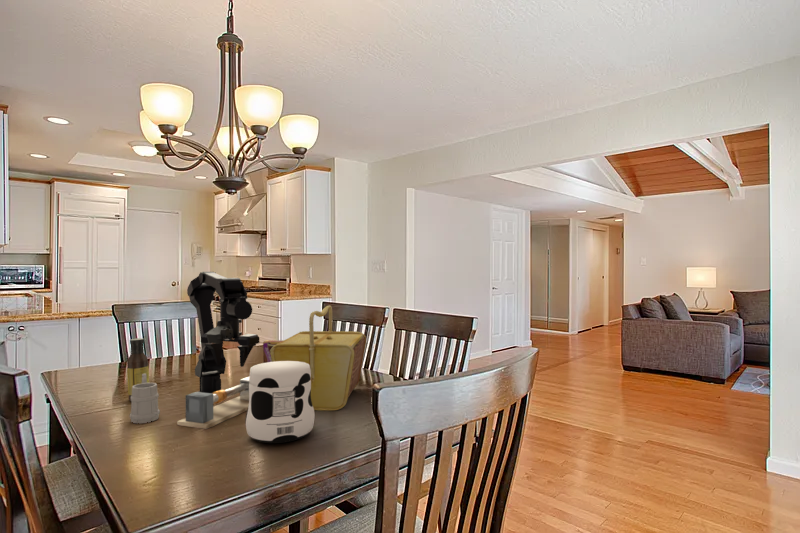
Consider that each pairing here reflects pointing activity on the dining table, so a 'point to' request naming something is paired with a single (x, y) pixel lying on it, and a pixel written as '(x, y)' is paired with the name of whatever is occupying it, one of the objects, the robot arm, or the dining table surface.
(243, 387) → the tube
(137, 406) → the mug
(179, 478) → the dining table surface
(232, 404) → the board
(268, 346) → the candy box
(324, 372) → the picnic basket
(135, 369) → the sauce bottle
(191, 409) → the socket
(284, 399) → the milk container
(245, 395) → the sleeve
